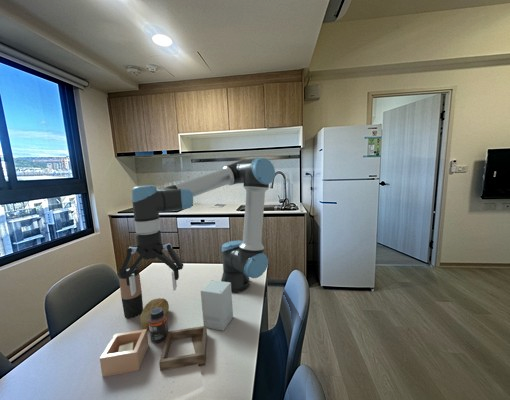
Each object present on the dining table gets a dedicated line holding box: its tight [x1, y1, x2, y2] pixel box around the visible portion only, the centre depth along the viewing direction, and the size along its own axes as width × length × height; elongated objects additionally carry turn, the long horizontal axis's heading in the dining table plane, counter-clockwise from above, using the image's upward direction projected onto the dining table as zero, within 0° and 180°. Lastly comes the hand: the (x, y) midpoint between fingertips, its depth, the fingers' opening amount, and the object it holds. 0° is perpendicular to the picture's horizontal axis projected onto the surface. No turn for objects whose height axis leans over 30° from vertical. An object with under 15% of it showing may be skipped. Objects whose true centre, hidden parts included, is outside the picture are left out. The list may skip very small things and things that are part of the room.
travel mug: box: [117, 265, 144, 319], centre depth 96 cm, size 8×8×20 cm
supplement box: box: [200, 279, 234, 331], centre depth 88 cm, size 9×9×15 cm
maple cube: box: [118, 342, 134, 352], centre depth 71 cm, size 4×4×4 cm
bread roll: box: [139, 297, 170, 331], centre depth 91 cm, size 10×15×8 cm, turn 3°
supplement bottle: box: [149, 307, 169, 345], centre depth 80 cm, size 6×6×11 cm
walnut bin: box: [158, 325, 208, 371], centre depth 74 cm, size 13×13×4 cm
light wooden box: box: [99, 329, 149, 378], centre depth 71 cm, size 10×10×7 cm
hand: (154, 291), depth 78 cm, fingers open, 13 cm apart
